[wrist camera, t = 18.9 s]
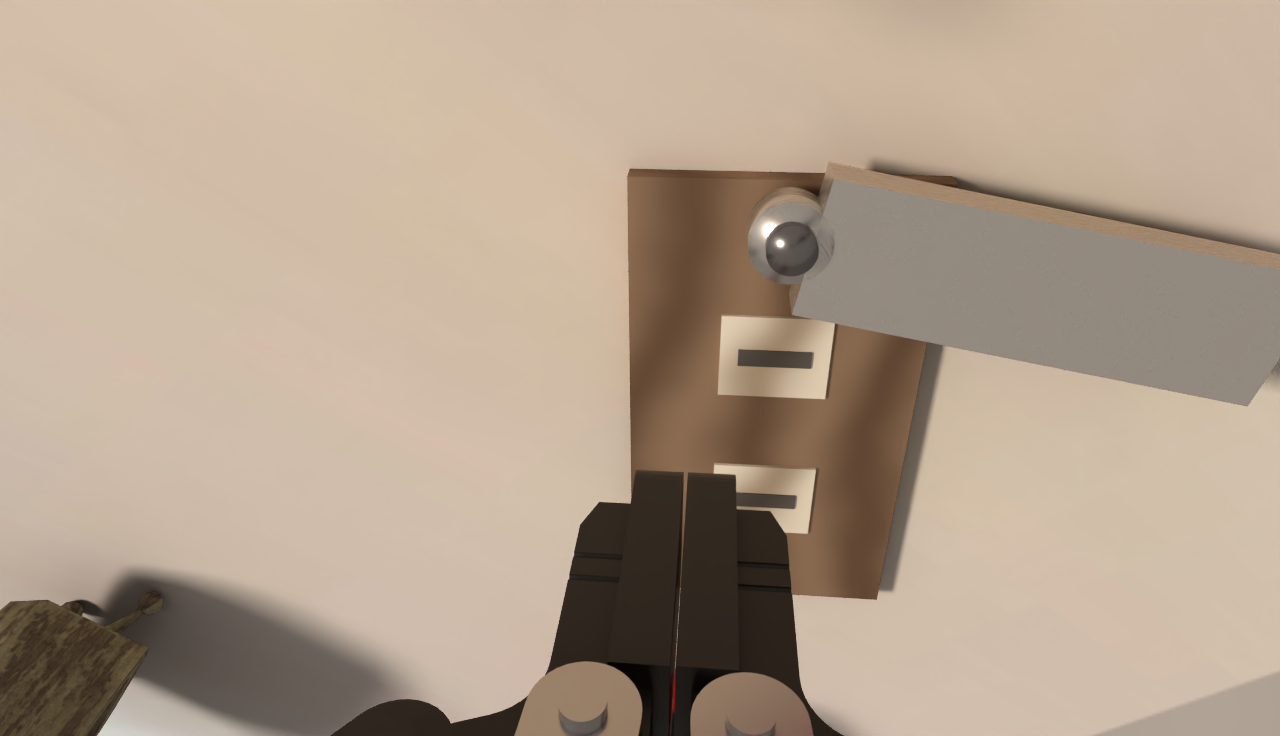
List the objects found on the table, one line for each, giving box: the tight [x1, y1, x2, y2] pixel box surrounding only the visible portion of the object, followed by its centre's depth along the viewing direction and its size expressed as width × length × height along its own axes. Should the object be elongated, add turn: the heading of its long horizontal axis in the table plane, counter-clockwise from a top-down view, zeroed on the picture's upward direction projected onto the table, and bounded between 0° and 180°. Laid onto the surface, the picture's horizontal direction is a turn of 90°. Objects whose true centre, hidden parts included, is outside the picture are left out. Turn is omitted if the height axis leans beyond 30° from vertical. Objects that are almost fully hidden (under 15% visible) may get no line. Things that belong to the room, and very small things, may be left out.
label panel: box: [627, 169, 958, 600], centre depth 49 cm, size 16×28×2 cm, turn 0°
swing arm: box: [747, 162, 1280, 406], centre depth 40 cm, size 7×26×3 cm, turn 80°
